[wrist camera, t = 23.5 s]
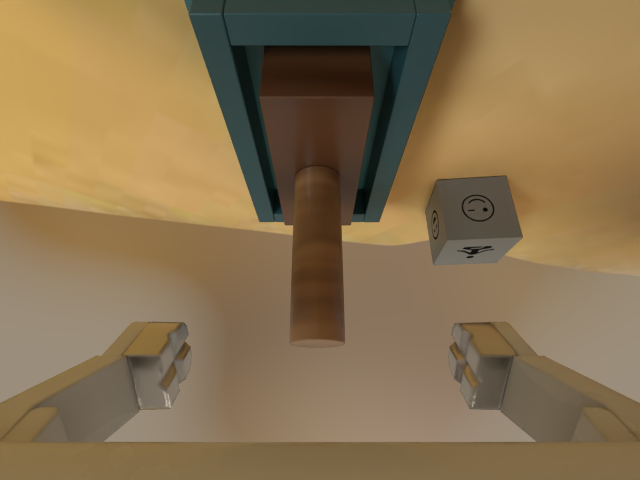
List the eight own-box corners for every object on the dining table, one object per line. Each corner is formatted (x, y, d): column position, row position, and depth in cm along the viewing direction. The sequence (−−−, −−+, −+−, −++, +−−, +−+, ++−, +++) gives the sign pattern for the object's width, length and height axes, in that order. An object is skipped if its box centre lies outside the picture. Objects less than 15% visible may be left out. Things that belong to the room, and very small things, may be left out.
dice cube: (506, 175, 25) (522, 237, 23) (484, 209, 30) (496, 262, 28) (436, 180, 26) (447, 240, 24) (425, 212, 30) (433, 265, 28)
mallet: (264, 36, 15) (236, 318, 10) (369, 37, 15) (395, 317, 10) (286, 182, 25) (278, 357, 20) (349, 182, 25) (356, 357, 20)
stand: (170, -64, 12) (153, -13, 11) (468, -63, 12) (485, -12, 11) (253, 193, 28) (250, 227, 26) (384, 193, 28) (388, 227, 26)
